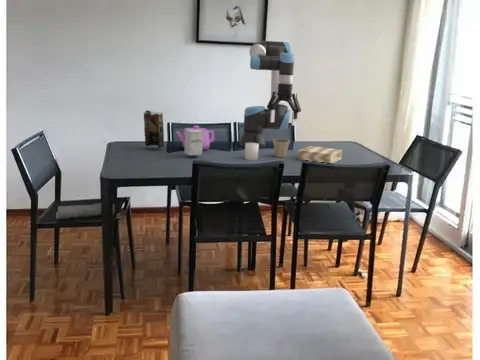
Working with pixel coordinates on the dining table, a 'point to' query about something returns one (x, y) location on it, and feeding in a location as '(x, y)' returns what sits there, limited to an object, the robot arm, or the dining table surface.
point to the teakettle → (205, 136)
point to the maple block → (319, 154)
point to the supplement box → (193, 142)
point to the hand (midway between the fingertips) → (282, 123)
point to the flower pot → (280, 147)
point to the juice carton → (153, 128)
